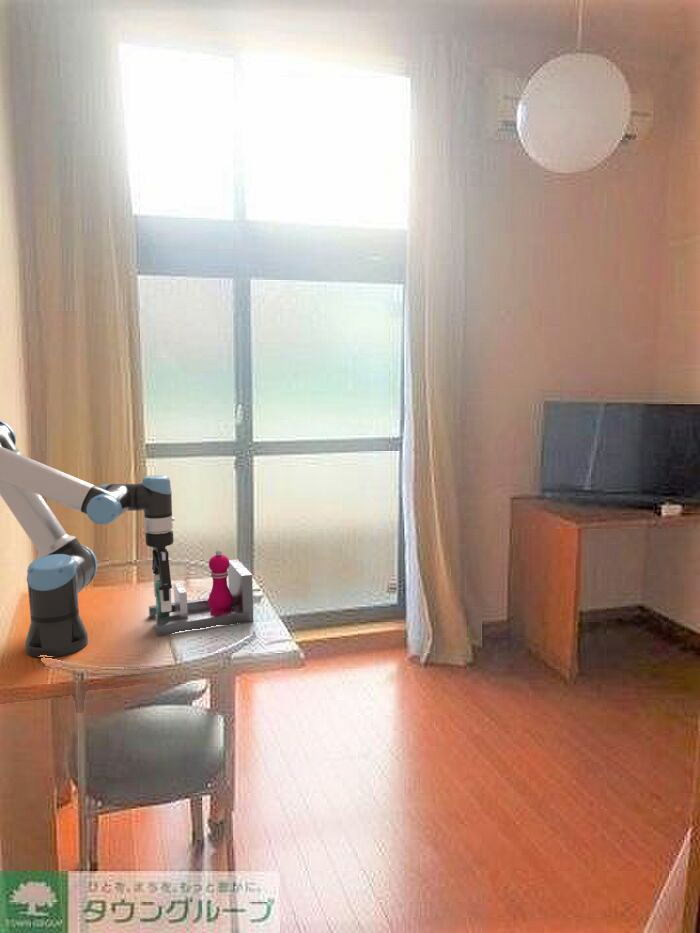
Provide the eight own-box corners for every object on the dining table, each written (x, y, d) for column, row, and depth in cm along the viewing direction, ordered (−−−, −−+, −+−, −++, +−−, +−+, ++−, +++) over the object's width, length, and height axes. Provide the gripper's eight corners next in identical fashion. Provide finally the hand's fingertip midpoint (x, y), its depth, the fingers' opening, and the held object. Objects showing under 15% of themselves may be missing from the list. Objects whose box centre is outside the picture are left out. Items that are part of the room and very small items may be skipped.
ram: (159, 630, 187) (156, 587, 186) (154, 618, 196) (152, 577, 195) (188, 626, 190) (186, 583, 189) (182, 614, 200) (180, 573, 198)
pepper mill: (236, 611, 202) (234, 546, 199) (229, 620, 195) (227, 553, 192) (212, 610, 203) (210, 546, 200) (205, 619, 196) (202, 553, 193)
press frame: (157, 636, 184) (154, 587, 182) (149, 616, 199) (146, 570, 197) (253, 621, 194) (252, 574, 192) (238, 602, 210) (237, 559, 208)
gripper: (180, 539, 179) (183, 616, 182) (166, 520, 201) (169, 588, 205) (151, 542, 176) (155, 620, 179) (140, 522, 199) (143, 592, 202)
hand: (162, 603), depth 192 cm, fingers open, 13 cm apart
